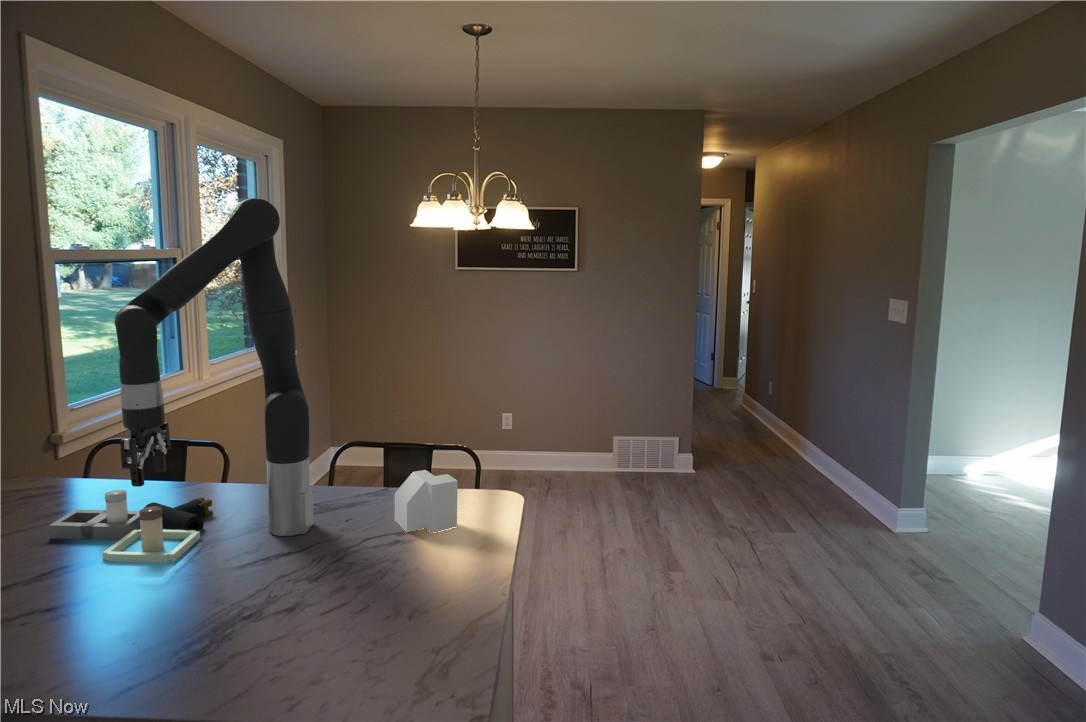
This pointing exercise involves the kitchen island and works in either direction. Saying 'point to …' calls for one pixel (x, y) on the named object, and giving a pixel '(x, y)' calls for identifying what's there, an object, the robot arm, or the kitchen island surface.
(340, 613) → the kitchen island surface
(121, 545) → the parts tray
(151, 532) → the cylinder
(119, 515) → the cylinder
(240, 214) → the robot arm
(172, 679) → the kitchen island surface
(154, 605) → the kitchen island surface
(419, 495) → the pale house-shaped block
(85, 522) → the fuse block
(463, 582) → the kitchen island surface
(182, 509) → the pipe connector
